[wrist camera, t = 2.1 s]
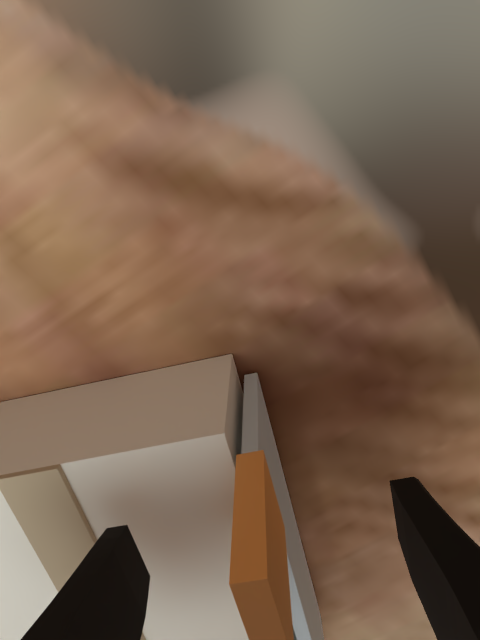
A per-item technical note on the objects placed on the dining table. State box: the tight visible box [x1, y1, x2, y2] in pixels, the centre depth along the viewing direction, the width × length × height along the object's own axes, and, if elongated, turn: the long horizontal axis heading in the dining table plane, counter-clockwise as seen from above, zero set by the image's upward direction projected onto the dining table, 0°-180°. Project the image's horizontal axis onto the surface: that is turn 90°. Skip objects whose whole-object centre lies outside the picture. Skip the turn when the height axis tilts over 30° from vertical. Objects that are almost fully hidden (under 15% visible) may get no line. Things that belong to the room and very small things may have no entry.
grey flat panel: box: [229, 373, 324, 640], centre depth 15 cm, size 14×1×9 cm, turn 14°
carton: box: [0, 354, 297, 640], centre depth 18 cm, size 16×12×5 cm
